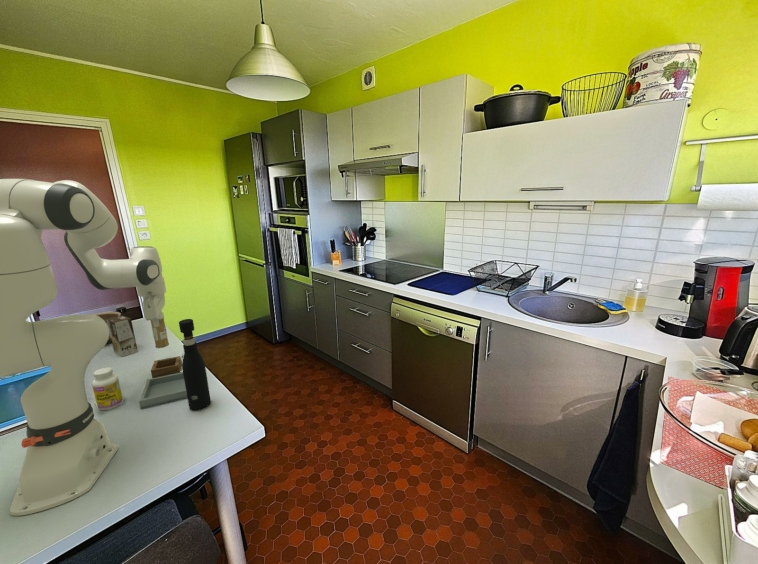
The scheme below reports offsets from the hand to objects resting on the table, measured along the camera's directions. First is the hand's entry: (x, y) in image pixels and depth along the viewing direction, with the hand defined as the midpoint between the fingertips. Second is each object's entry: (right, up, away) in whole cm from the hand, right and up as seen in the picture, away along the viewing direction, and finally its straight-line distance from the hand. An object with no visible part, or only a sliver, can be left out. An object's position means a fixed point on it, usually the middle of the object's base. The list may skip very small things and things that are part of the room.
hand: (158, 323), depth 124 cm
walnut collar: (0, -20, +5) cm, 21 cm away
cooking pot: (-51, -13, +35) cm, 64 cm away
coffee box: (-31, -16, +23) cm, 42 cm away
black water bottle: (+25, -25, -16) cm, 39 cm away
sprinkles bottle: (0, -9, +2) cm, 9 cm away
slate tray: (+10, -23, -8) cm, 27 cm away
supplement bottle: (-5, -26, -15) cm, 30 cm away
